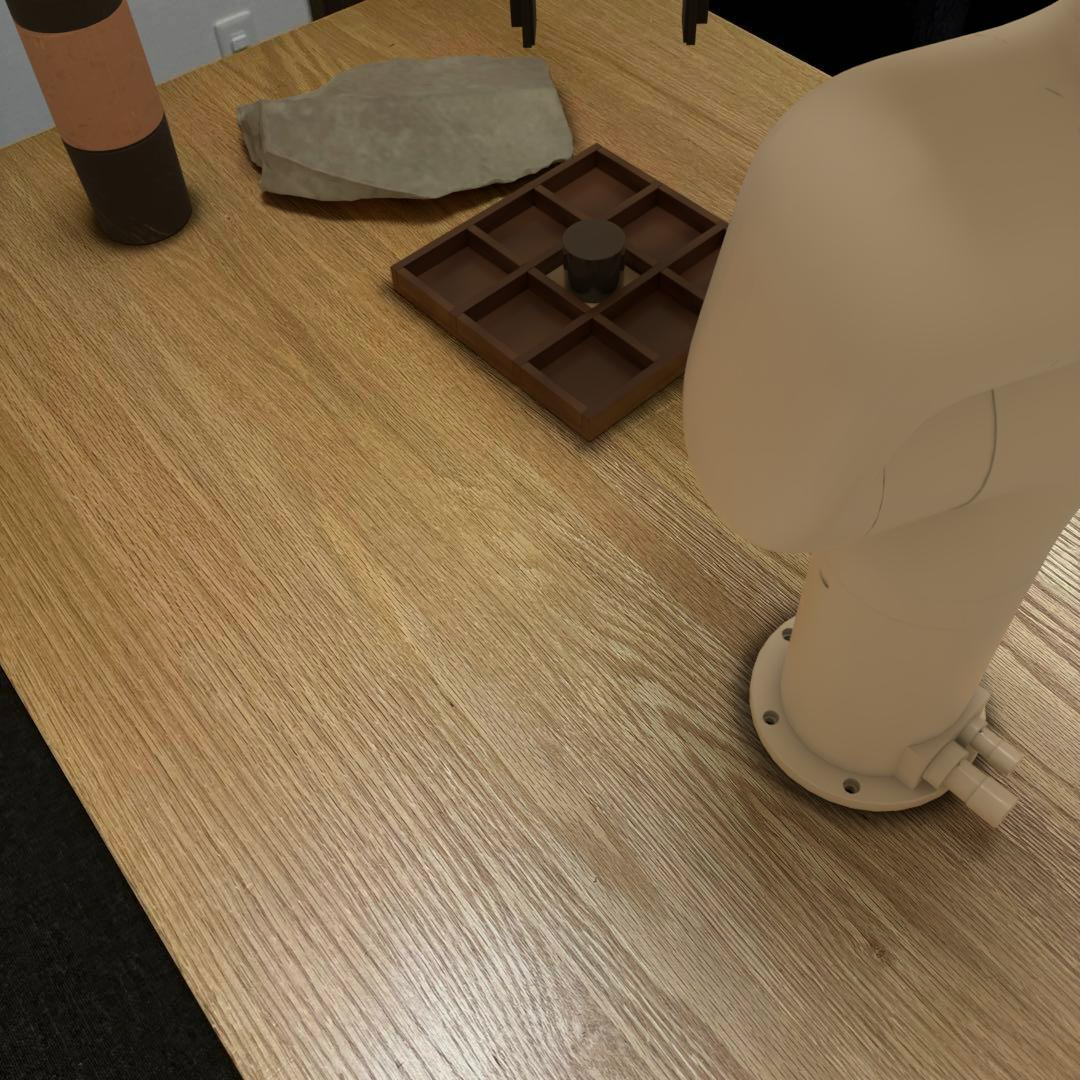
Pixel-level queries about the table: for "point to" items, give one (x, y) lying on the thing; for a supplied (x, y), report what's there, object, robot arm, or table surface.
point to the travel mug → (107, 113)
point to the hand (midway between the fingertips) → (608, 34)
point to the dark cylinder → (593, 259)
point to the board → (556, 314)
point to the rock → (410, 129)
